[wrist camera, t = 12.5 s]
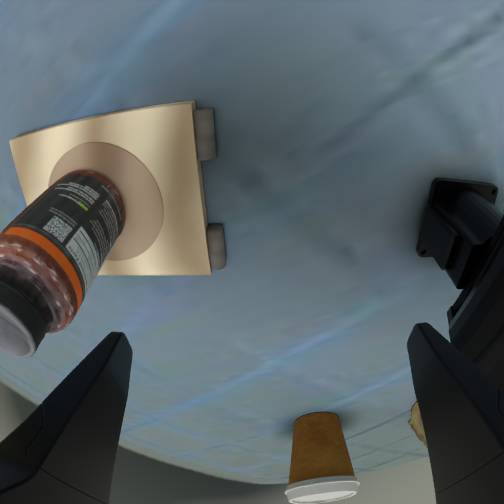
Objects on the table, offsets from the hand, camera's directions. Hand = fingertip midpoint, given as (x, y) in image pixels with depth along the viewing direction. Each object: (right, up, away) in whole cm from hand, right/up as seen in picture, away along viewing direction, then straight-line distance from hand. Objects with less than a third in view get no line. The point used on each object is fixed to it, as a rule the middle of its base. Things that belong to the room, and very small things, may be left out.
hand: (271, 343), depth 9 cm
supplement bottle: (-12, +6, +11) cm, 17 cm away
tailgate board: (-11, +6, +12) cm, 17 cm away
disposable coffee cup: (+8, -21, +31) cm, 38 cm away
